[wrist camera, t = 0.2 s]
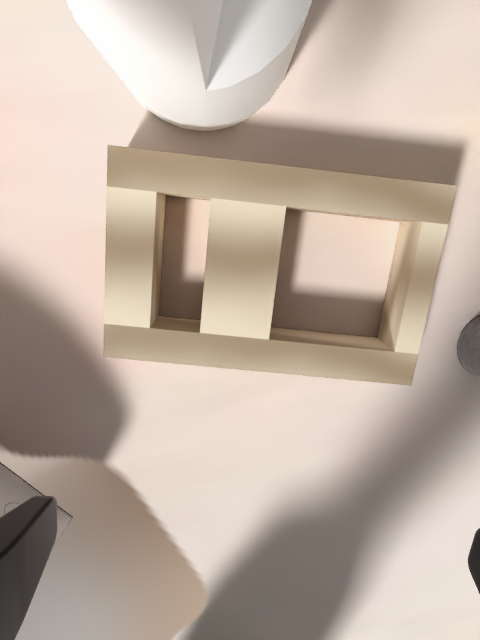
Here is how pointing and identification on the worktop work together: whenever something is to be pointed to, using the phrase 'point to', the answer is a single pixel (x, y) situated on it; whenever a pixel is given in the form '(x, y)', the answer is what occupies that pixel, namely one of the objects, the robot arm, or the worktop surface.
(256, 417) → the worktop surface
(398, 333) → the block
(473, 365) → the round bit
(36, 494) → the grey curved block
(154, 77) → the cylinder with rectangular tab
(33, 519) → the robot arm
